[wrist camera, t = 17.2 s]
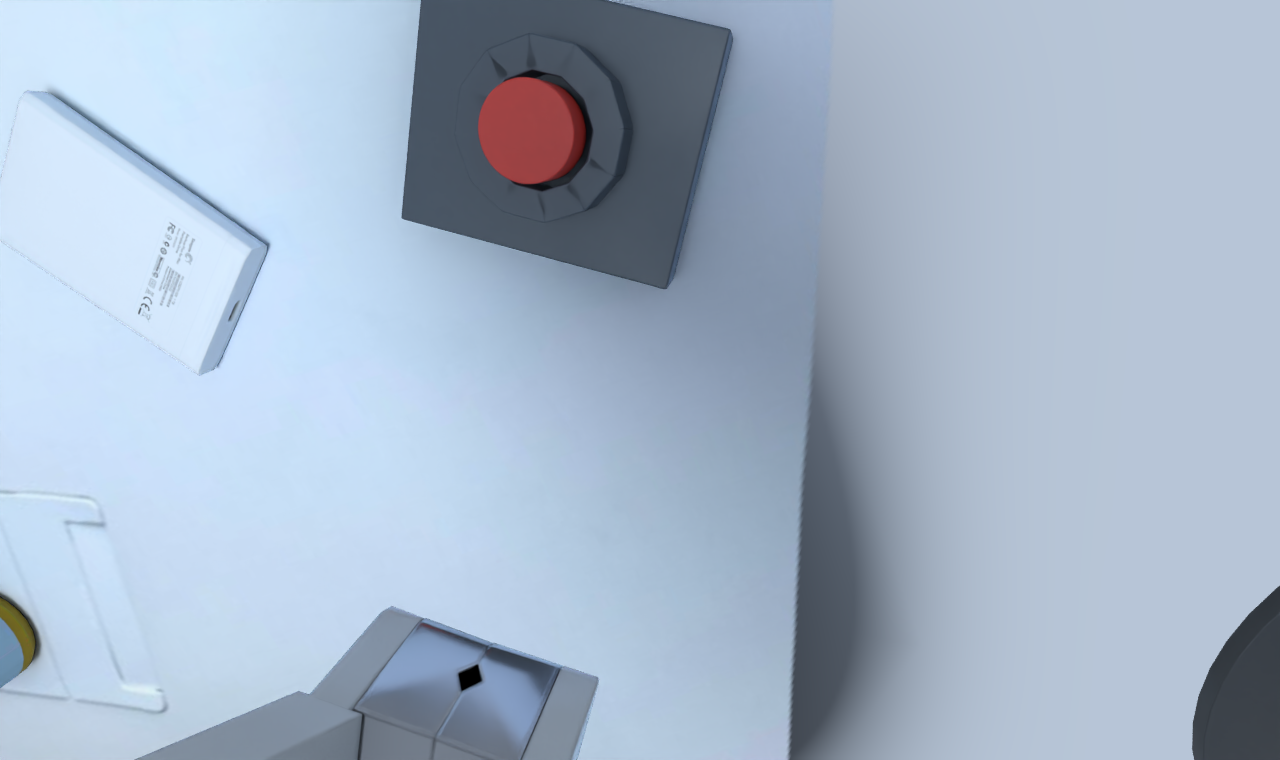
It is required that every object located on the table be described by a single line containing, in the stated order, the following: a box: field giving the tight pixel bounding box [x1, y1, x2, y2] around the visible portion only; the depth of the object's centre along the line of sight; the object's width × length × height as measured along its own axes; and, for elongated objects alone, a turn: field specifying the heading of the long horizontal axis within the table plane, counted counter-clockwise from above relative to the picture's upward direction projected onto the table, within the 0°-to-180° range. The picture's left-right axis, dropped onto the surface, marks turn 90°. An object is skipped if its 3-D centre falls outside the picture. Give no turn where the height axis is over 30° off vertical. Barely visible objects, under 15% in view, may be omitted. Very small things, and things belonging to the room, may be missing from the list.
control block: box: [402, 0, 733, 289], centre depth 27 cm, size 12×10×4 cm
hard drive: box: [0, 91, 267, 376], centre depth 34 cm, size 2×8×12 cm
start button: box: [478, 77, 586, 184], centre depth 25 cm, size 4×4×2 cm
